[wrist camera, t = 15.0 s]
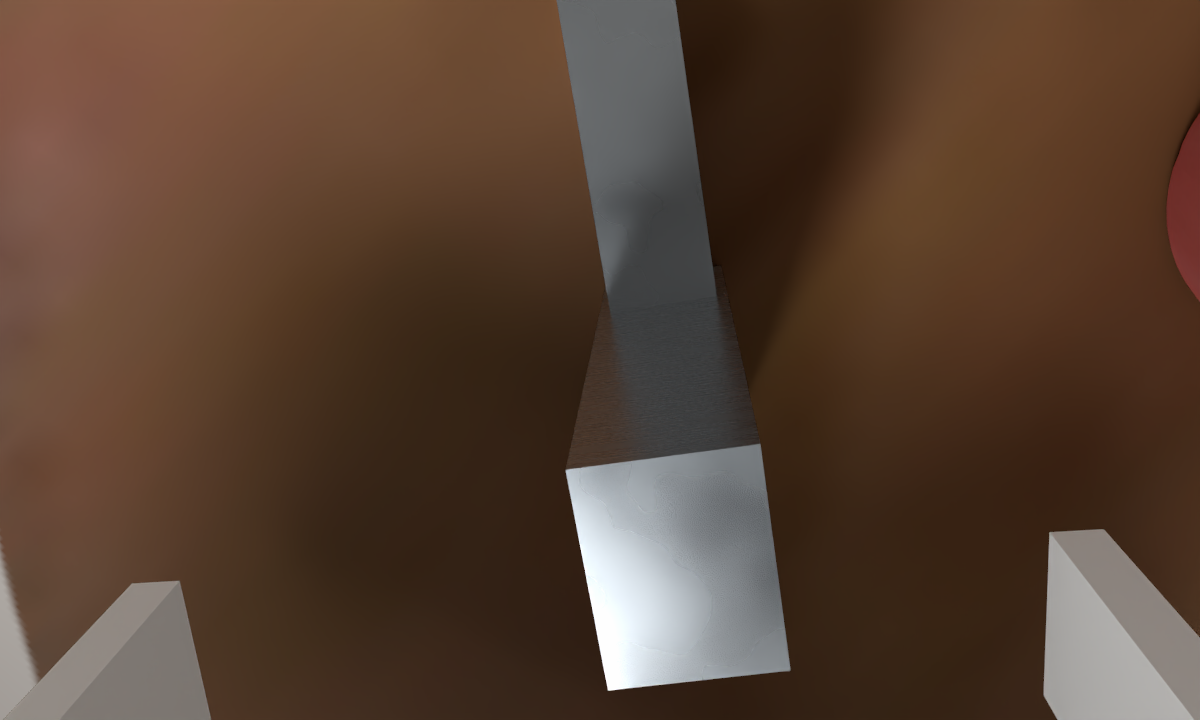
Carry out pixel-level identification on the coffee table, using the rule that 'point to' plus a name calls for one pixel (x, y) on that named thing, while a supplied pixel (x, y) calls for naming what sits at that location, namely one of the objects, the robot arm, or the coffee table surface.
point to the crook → (662, 381)
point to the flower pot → (1186, 209)
